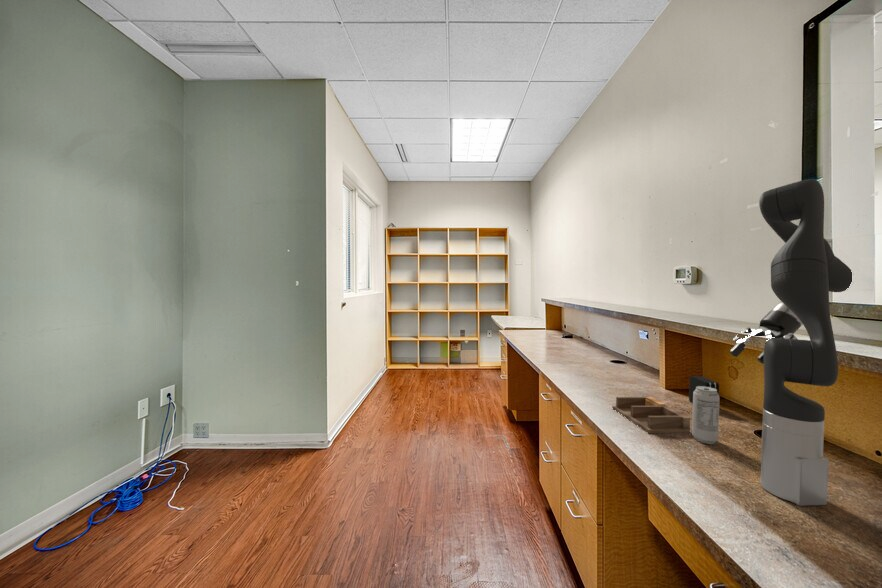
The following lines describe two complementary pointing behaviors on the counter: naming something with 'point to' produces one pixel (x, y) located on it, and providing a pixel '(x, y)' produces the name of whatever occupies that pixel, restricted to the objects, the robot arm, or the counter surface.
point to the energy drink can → (705, 414)
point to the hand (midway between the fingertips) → (745, 358)
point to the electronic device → (700, 381)
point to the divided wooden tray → (652, 415)
